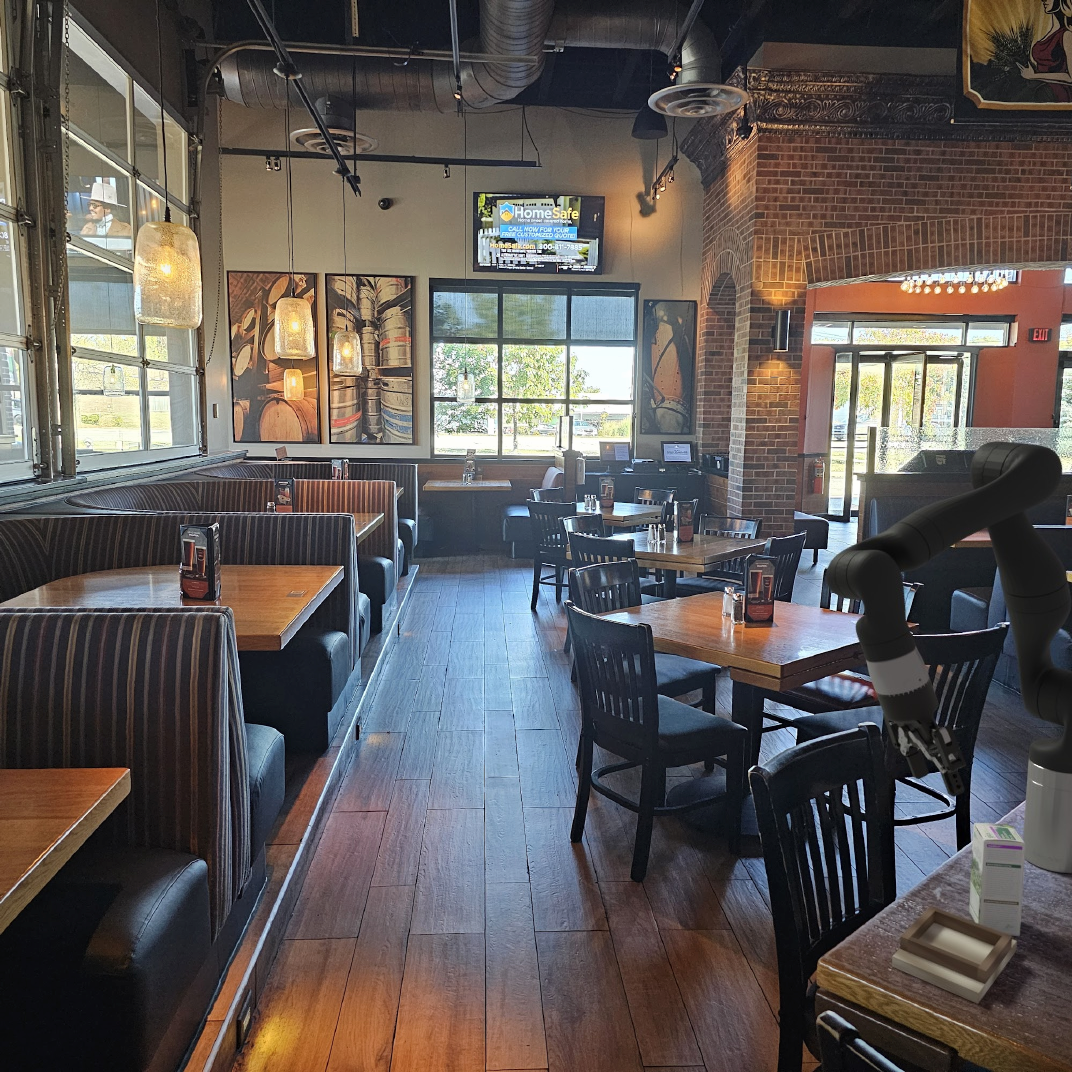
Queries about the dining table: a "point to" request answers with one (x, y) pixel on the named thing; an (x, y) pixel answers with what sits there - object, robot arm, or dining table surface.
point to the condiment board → (954, 953)
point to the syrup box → (997, 877)
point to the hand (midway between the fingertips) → (938, 784)
